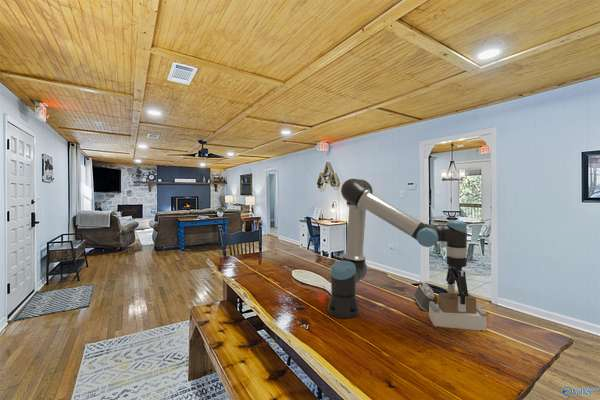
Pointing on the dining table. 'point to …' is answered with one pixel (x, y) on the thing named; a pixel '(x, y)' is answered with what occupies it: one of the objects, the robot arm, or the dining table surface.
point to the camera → (425, 296)
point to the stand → (458, 318)
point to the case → (455, 303)
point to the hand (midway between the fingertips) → (456, 304)
